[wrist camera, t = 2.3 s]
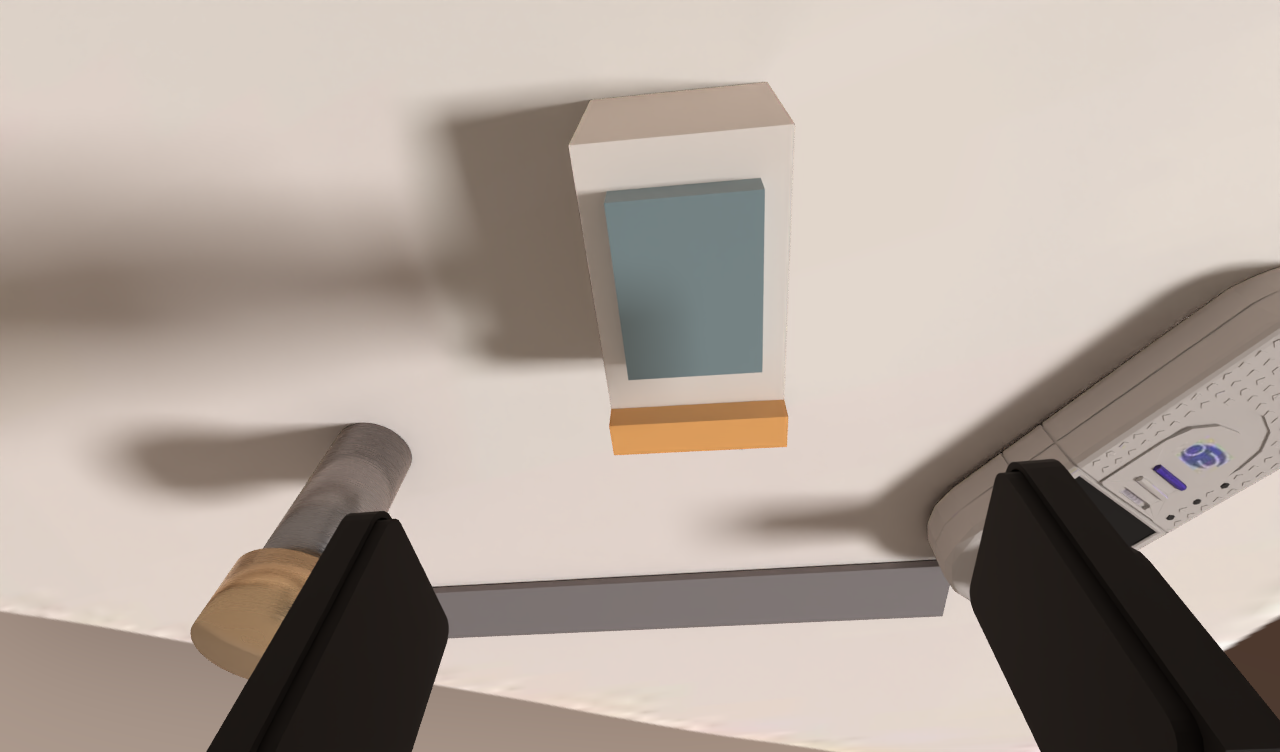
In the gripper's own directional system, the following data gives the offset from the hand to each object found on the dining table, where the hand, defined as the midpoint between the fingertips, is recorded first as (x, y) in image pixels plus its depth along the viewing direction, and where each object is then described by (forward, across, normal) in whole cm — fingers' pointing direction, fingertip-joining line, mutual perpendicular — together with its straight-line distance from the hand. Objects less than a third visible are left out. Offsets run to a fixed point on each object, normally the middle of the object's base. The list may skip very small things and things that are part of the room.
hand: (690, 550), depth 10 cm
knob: (+11, +12, +6) cm, 17 cm away
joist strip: (+11, +2, +16) cm, 19 cm away
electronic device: (+11, -14, +8) cm, 20 cm away
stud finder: (+11, 0, -1) cm, 11 cm away
